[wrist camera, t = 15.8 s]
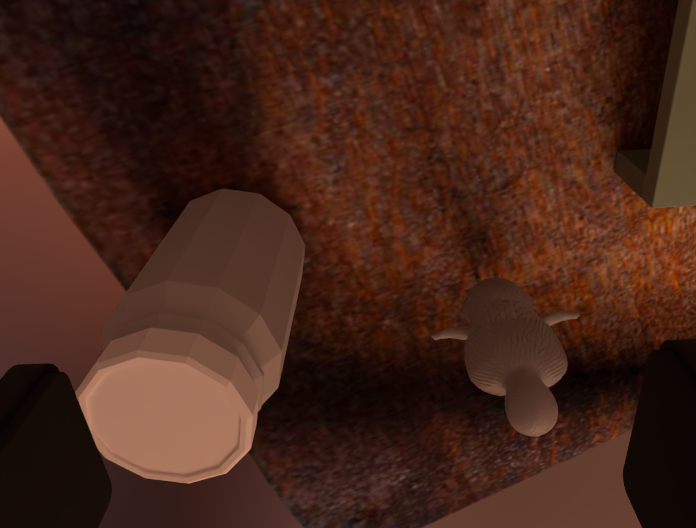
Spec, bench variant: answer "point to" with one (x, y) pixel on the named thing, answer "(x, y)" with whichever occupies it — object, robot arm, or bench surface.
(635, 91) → the bench surface
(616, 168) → the shelf
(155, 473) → the jar
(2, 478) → the robot arm
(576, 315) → the figurine
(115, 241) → the bench surface
